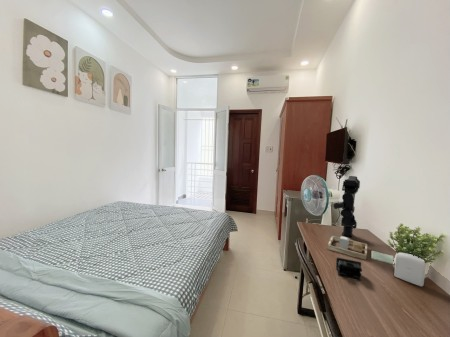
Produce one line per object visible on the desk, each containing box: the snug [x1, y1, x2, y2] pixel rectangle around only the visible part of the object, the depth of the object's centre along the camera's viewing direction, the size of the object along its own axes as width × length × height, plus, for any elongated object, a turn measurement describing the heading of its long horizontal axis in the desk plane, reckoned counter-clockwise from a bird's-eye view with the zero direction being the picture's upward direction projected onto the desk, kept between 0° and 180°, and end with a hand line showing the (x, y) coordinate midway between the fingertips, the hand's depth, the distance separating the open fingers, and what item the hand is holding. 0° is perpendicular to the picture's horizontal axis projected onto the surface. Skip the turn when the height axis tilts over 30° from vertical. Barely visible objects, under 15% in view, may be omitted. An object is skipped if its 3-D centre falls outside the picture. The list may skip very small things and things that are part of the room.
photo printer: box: [393, 252, 426, 287], centre depth 95 cm, size 10×4×12 cm, turn 39°
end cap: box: [335, 257, 363, 281], centre depth 99 cm, size 10×7×7 cm
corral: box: [326, 235, 368, 261], centre depth 125 cm, size 18×20×2 cm
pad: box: [370, 250, 395, 265], centre depth 115 cm, size 10×10×1 cm
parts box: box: [338, 235, 350, 250], centre depth 126 cm, size 4×4×6 cm
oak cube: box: [352, 241, 363, 253], centre depth 123 cm, size 4×4×4 cm
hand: (346, 223), depth 132 cm, fingers open, 9 cm apart
